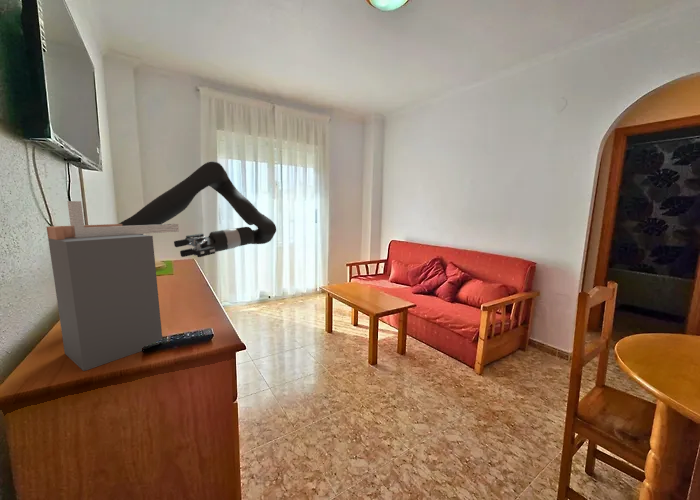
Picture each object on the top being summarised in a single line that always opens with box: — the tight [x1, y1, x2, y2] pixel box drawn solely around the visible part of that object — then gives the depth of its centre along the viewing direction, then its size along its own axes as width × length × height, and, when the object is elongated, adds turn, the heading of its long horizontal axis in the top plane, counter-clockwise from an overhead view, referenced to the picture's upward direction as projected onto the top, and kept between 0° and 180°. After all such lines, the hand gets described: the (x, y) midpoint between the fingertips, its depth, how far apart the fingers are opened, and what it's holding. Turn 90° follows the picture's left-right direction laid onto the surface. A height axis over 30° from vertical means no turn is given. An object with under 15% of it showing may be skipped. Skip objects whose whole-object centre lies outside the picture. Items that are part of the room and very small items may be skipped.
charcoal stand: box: [46, 223, 163, 372], centre depth 82 cm, size 16×18×35 cm
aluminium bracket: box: [66, 200, 180, 238], centre depth 88 cm, size 3×26×10 cm, turn 146°
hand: (177, 249), depth 102 cm, fingers open, 8 cm apart
